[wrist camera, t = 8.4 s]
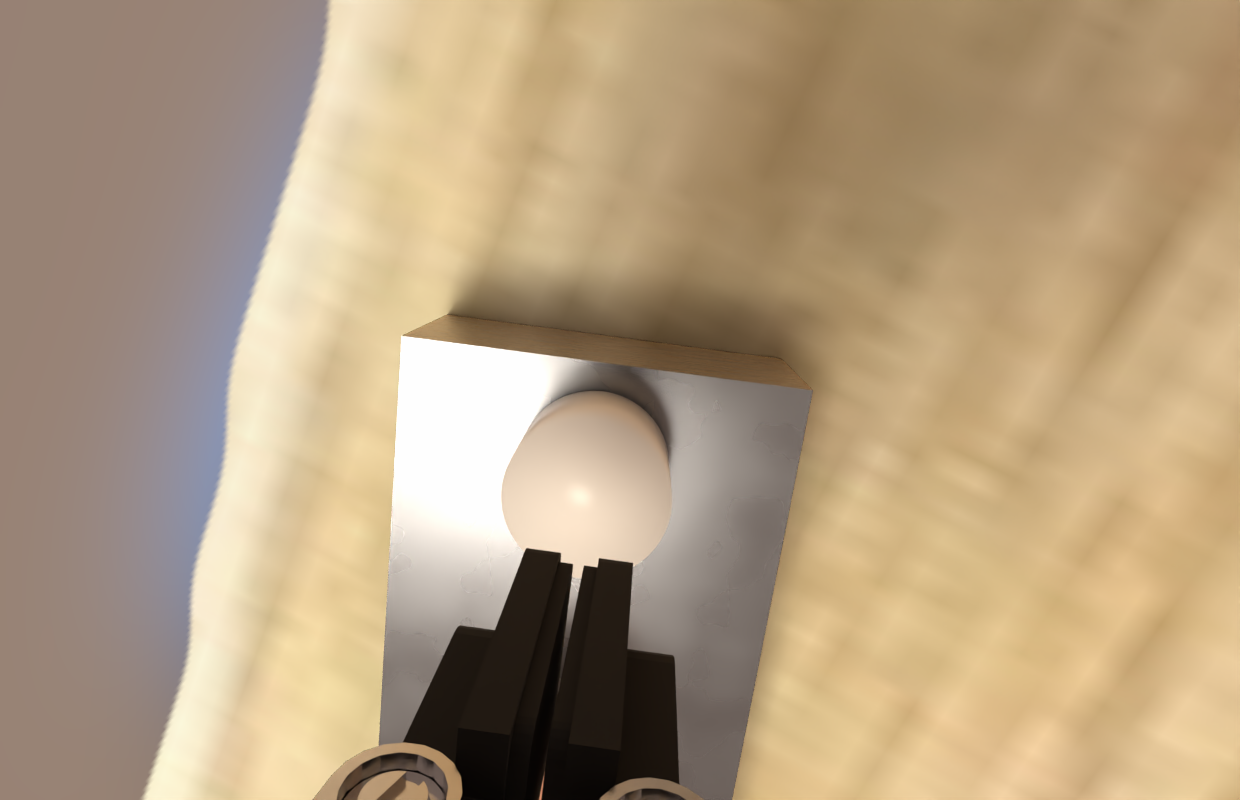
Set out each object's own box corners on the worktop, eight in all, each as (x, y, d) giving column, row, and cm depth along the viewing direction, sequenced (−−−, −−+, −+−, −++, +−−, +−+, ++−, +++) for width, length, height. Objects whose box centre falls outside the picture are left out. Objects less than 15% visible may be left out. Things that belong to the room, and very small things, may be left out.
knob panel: (447, 314, 26) (401, 335, 21) (781, 358, 26) (813, 390, 21) (408, 859, 32) (366, 975, 27) (681, 896, 32) (688, 1019, 27)
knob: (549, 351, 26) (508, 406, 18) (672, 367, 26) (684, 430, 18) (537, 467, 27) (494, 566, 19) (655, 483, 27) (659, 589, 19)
